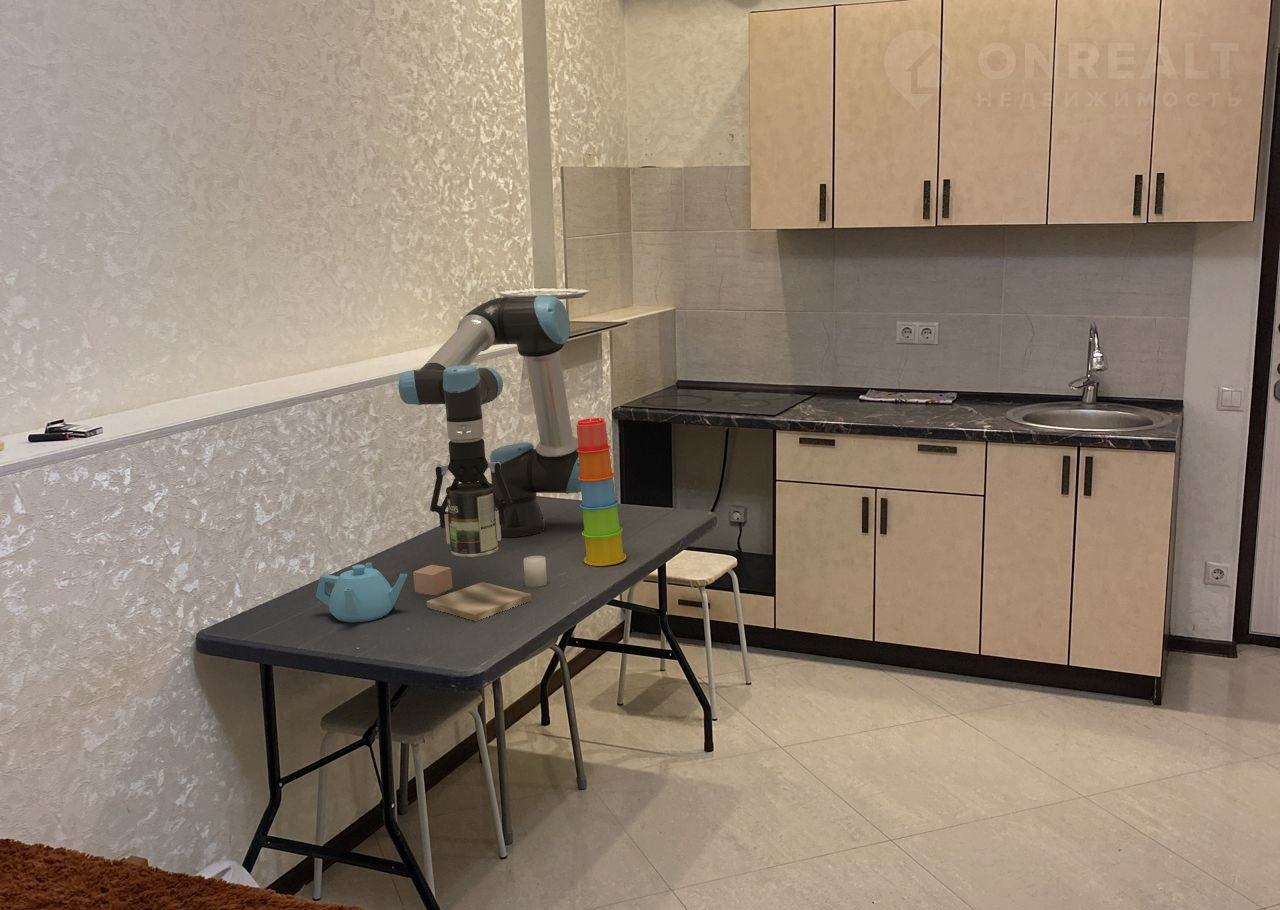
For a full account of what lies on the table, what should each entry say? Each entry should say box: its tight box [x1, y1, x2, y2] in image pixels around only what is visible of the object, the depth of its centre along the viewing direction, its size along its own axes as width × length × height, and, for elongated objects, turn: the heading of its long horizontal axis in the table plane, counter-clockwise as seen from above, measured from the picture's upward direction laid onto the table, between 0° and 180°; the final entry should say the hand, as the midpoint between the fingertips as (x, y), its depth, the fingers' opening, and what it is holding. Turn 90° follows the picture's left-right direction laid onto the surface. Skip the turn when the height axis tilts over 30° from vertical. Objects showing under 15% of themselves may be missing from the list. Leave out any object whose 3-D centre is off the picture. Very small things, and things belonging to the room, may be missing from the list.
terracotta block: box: [412, 564, 454, 596], centre depth 266 cm, size 6×6×5 cm
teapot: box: [315, 562, 408, 623], centre depth 252 cm, size 15×15×11 cm
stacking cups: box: [575, 417, 627, 567], centre depth 279 cm, size 10×10×35 cm
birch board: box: [426, 581, 532, 622], centre depth 255 cm, size 16×16×2 cm
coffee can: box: [445, 482, 499, 558], centre depth 251 cm, size 10×10×14 cm
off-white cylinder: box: [522, 555, 548, 588], centre depth 267 cm, size 5×5×6 cm
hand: (474, 540), depth 252 cm, fingers closed on coffee can, 10 cm apart
